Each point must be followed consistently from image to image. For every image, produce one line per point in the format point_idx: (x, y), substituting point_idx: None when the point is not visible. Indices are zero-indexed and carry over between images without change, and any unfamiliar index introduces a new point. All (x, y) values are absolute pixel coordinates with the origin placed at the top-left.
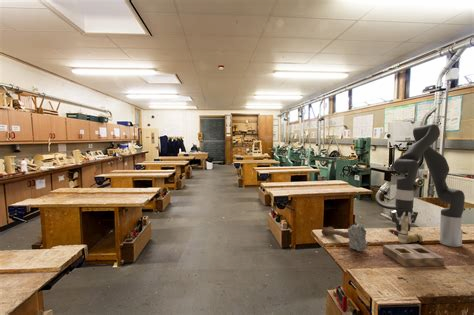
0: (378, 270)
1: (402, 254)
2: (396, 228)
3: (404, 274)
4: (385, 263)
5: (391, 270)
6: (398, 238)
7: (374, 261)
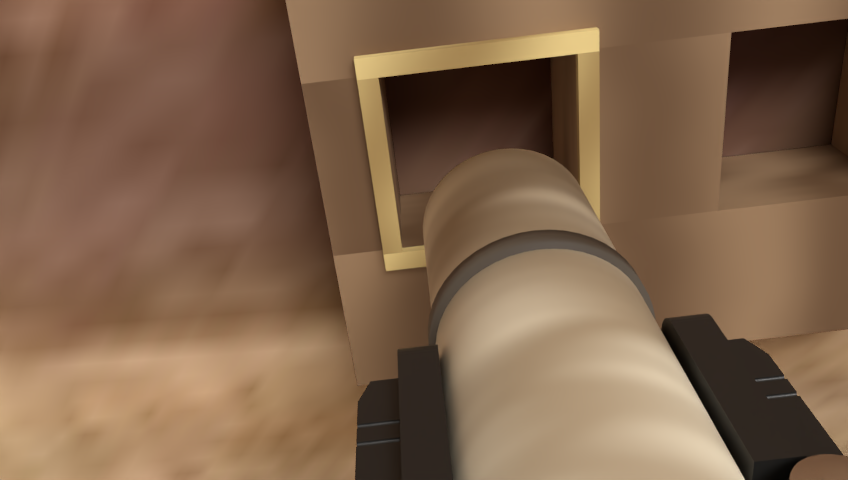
0: (8, 412)
1: (404, 268)
2: (360, 422)
3: (261, 458)
4: (157, 259)
5: (159, 402)
6: (428, 247)
7: (24, 218)
